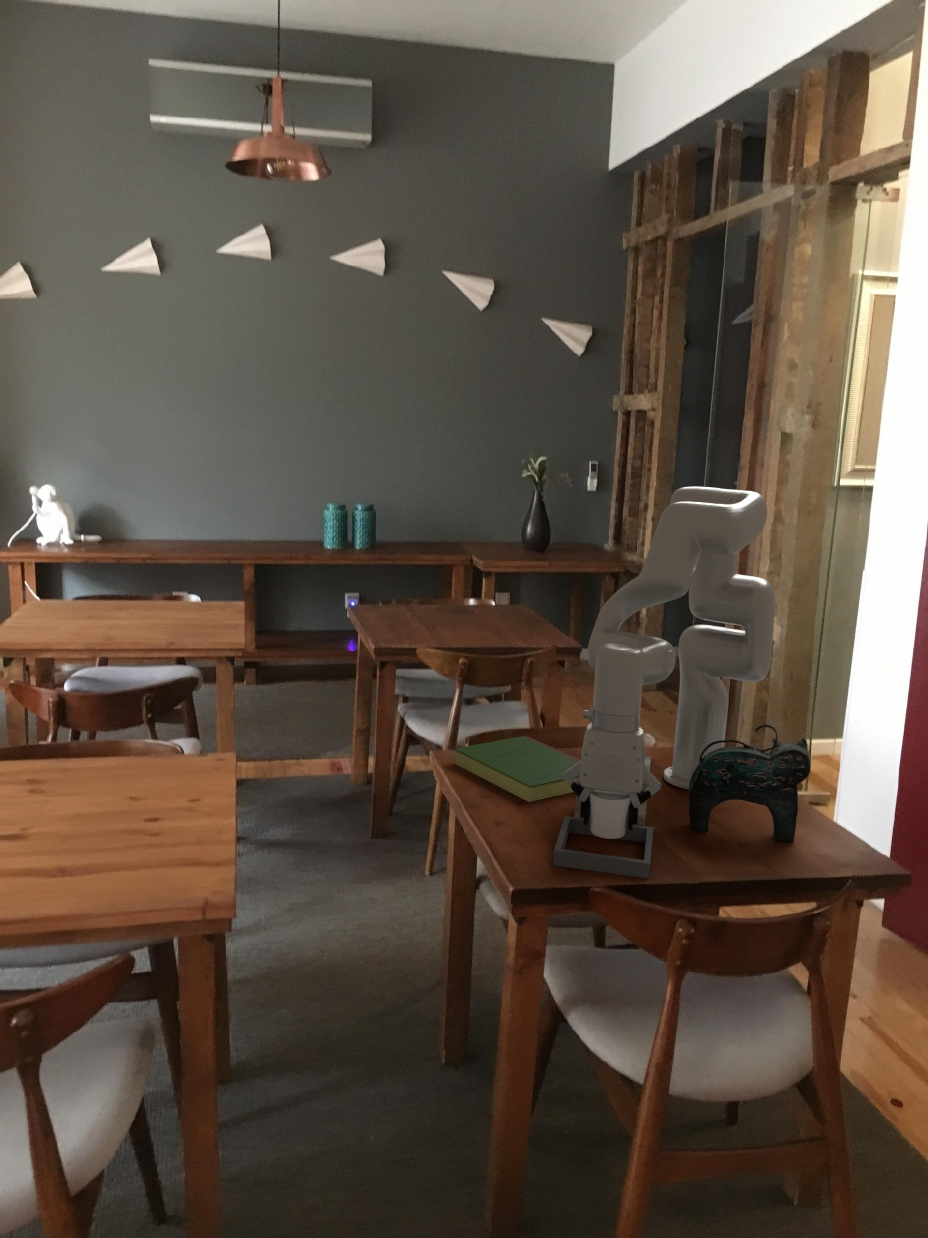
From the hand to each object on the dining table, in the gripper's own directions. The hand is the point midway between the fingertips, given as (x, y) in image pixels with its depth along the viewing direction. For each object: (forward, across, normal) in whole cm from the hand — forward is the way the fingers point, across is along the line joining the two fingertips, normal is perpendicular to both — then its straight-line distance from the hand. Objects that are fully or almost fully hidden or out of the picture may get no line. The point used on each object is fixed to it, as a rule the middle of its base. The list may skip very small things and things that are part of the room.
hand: (608, 823), depth 166 cm
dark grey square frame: (+5, 0, -1) cm, 5 cm away
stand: (+5, 0, +14) cm, 15 cm away
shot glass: (+2, 0, 0) cm, 2 cm away
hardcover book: (+6, -18, +32) cm, 38 cm away
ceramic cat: (+6, +23, +15) cm, 28 cm away
